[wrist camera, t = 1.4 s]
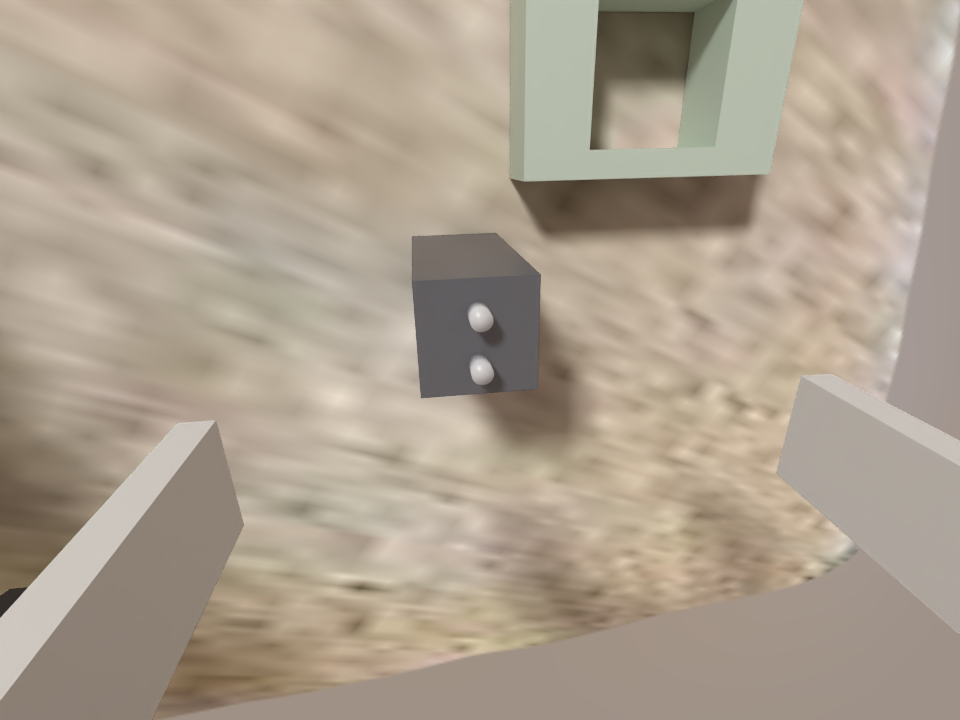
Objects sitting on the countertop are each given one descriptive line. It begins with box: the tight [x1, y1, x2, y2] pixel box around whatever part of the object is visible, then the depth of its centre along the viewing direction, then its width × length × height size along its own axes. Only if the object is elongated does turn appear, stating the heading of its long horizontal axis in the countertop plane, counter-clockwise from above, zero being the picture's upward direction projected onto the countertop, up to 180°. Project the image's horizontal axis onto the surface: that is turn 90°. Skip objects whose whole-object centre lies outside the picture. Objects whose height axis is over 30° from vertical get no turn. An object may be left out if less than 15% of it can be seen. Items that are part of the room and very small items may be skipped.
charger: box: [412, 233, 541, 398], centre depth 22 cm, size 4×4×11 cm
